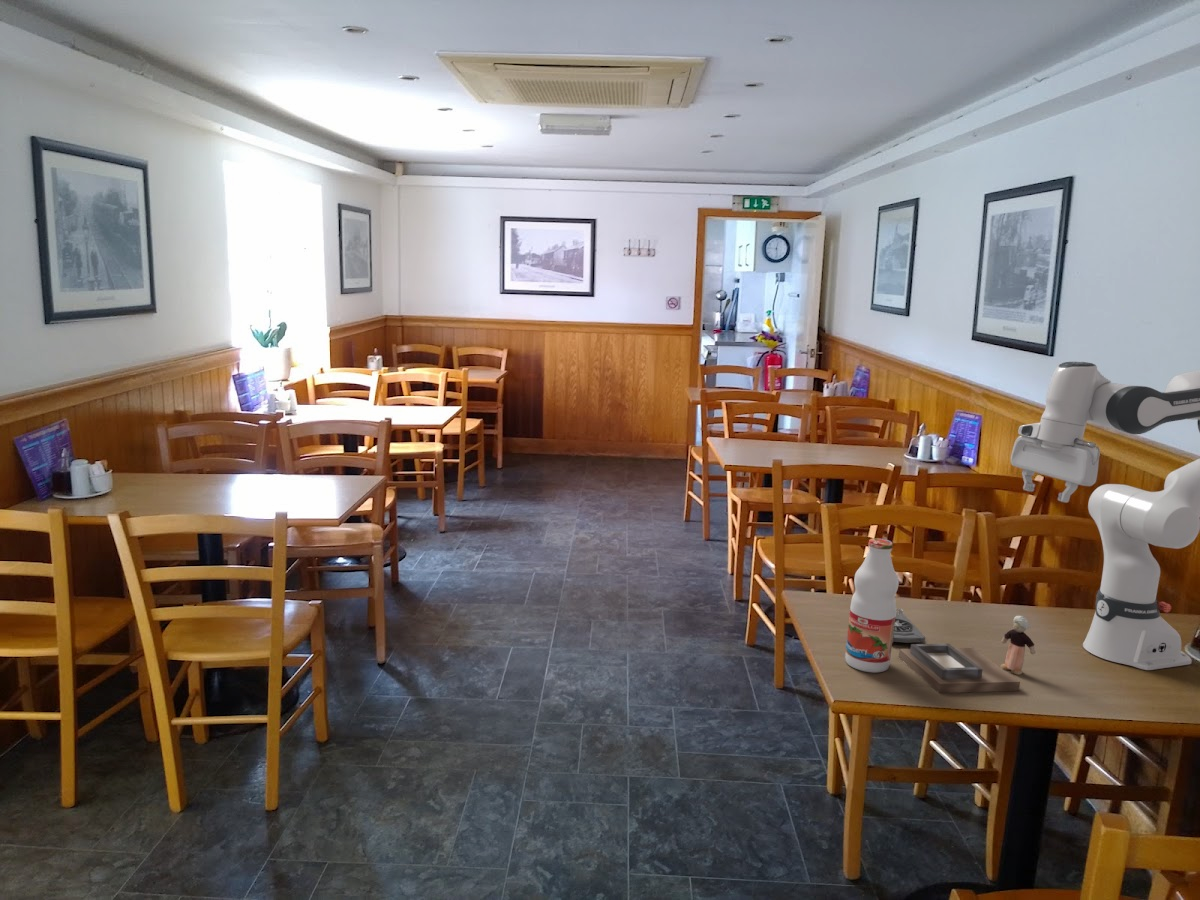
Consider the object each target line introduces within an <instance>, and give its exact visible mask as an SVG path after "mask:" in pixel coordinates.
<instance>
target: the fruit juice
mask: <svg viewBox="0 0 1200 900" xmlns="http://www.w3.org/2000/svg"><path fill="white" fill-rule="evenodd" d="M867 545H868V549H869V550H868V553H866V556H865V559H864V560H863V562H862V564H861V565H860V566H859V568H858V569H857V570H856V571H855V574H854V581H853V582H854V589H855V591H854V593H853V595H852V597H851V601H850V608H849V619H848V626H847V634H846V635H847V636H846V644H845V653H844V658H845V662H846V664H847V665H849V666H850V667H852V668H853V669H855V670H857V671H861V672H865V673H875V674H876V673H883V672H885V671H887V670H888V669H889V668H890V667H889V666H890V664H891V656H892V655H891V654H892V649H893V647H892V646H893V642H892V641H893V632H894V624H895V616H896V614H897V611H896V609H897V601H896V598H895V597H896V594H897V591H898V589H899V576H898V575H897V573H896V571H895V569H894V565H893V561H892V555H891V552H892V550H893V545H894V544H893V542H892V541H891V540H889V539H884V538H880V537H879V538H878V537H877V538H876V537H875V538H873V537H872V538H870V539H869V540H868V544H867Z"/></svg>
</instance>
